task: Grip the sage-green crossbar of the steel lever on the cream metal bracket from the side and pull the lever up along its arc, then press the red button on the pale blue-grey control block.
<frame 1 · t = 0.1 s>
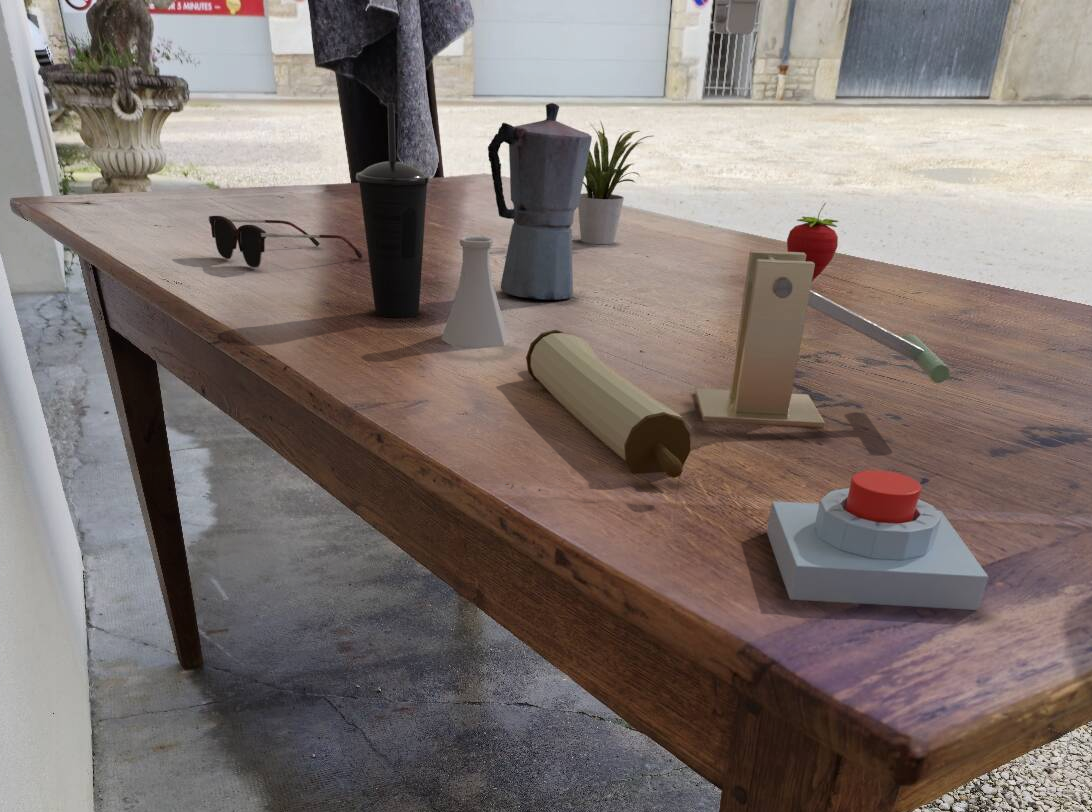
hand: (731, 34, 76), 27 cm above the table, tool pointing down, fingers open, 8 cm apart
strawberry: (803, 288, 138), on the table
drinking cup: (397, 315, 117), on the table
button: (882, 498, 62), point 5 cm above the table, slide at 0.1 cm
bracket: (755, 418, 90), on the table
house plant: (605, 242, 161), on the table
moka pot: (535, 297, 127), on the table
flask: (475, 349, 106), on the table
rolling pin: (598, 431, 86), on the table
control block: (865, 569, 65), on the table
lever: (848, 318, 85), point 9 cm above the table, hinge at -22.0°
sunglasses: (290, 259, 141), on the table
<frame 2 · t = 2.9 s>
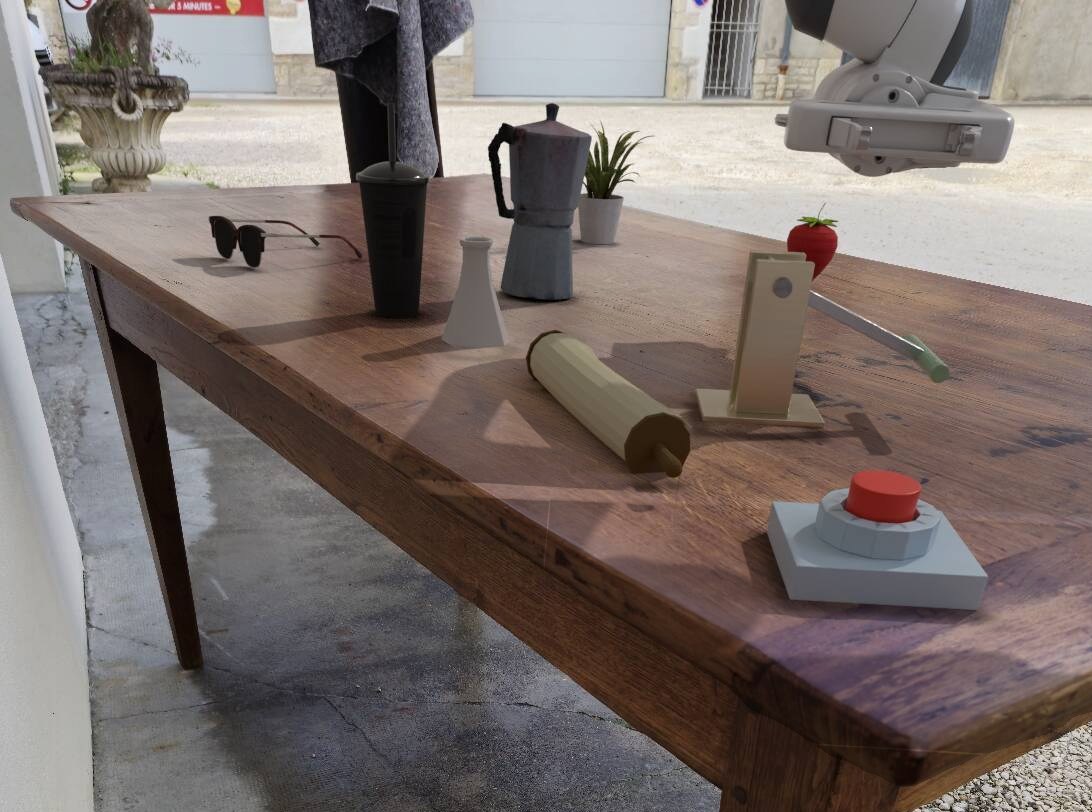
hand: (916, 141, 90), 20 cm above the table, tool horizontal, fingers open, 8 cm apart
nothing on the table moved.
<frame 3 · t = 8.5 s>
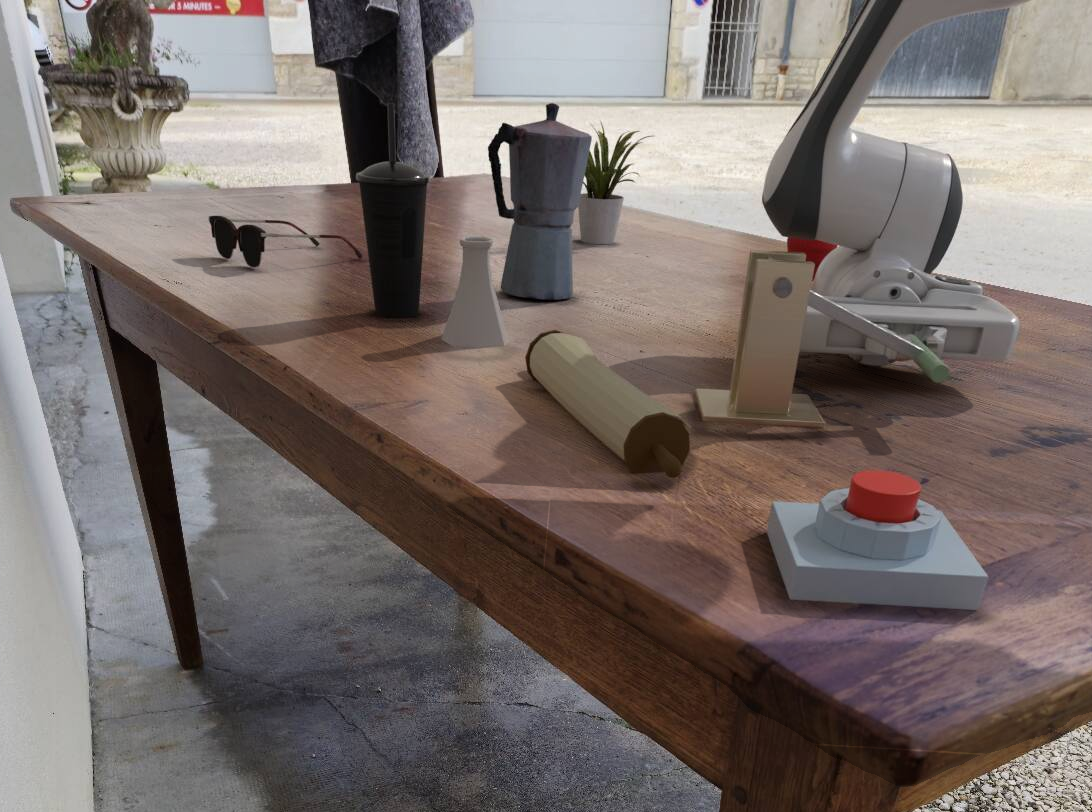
hand: (917, 350, 88), 6 cm above the table, tool horizontal, fingers closed on lever
lever: (848, 318, 85), point 9 cm above the table, hinge at -22.0°, touching gripper
everything else where it was.
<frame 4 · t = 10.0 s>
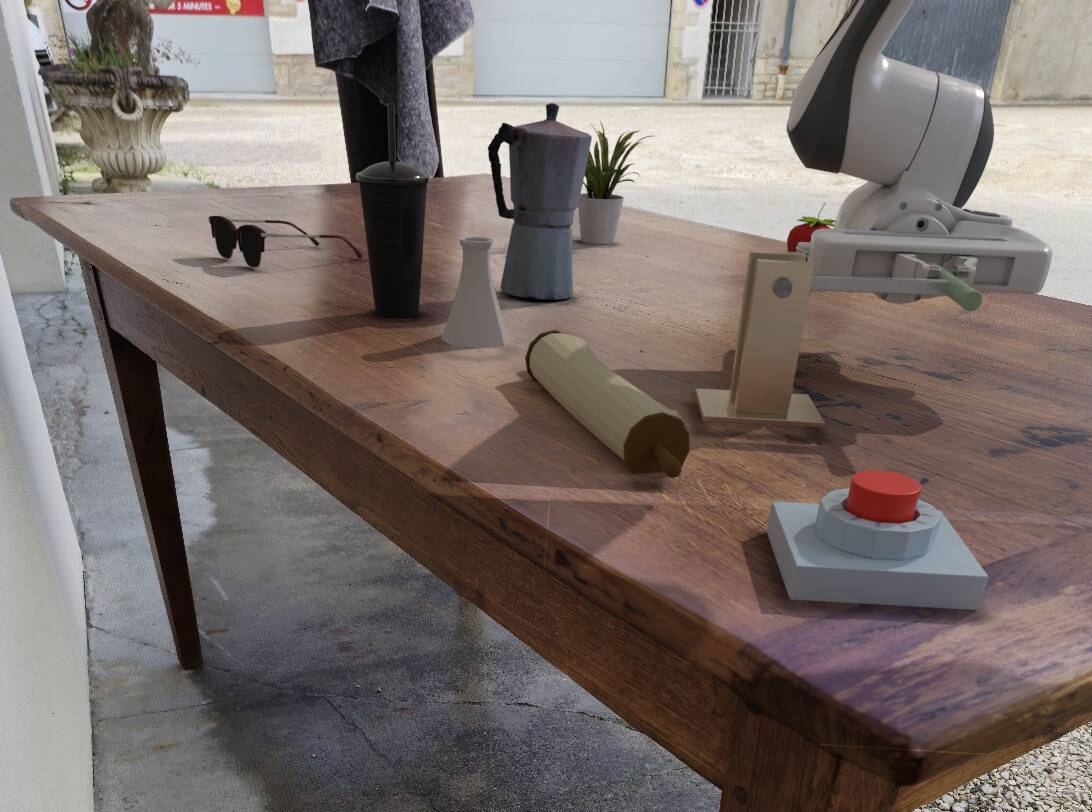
hand: (947, 279, 85), 11 cm above the table, tool horizontal, fingers closed on lever
lever: (861, 284, 83), point 11 cm above the table, hinge at 0.7°, touching gripper
everything else where it was.
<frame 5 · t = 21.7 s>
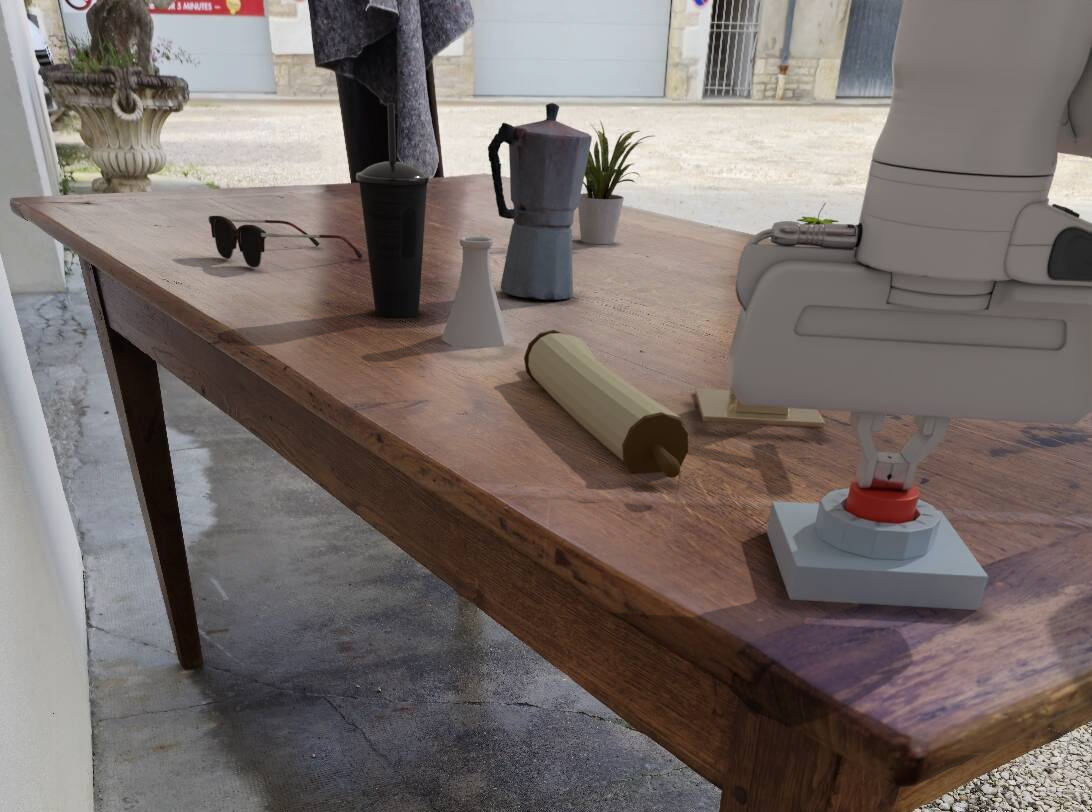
hand: (882, 486, 62), 5 cm above the table, tool pointing down, fingers closed, pressing on button
button: (881, 503, 63), point 4 cm above the table, slide at -0.3 cm, touching gripper
lever: (862, 252, 82), point 13 cm above the table, hinge at 20.9°
everything else where it was.
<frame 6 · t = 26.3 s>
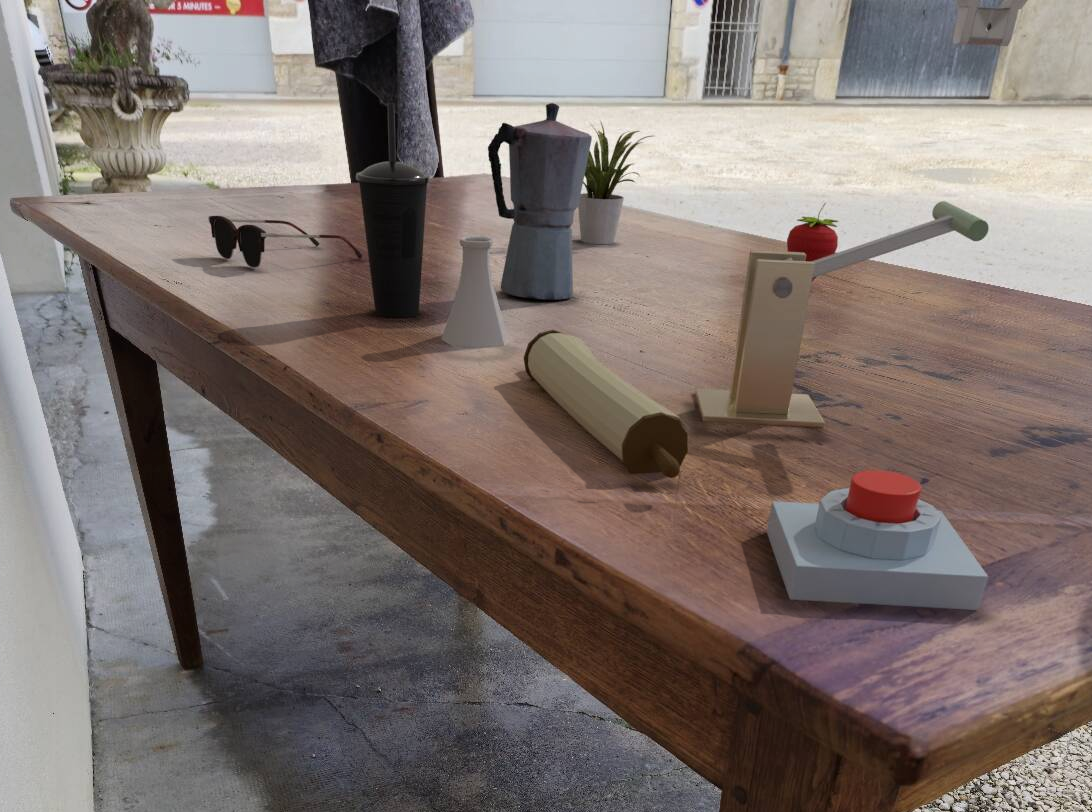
hand: (980, 45, 62), 27 cm above the table, tool pointing down, fingers closed
button: (882, 498, 62), point 5 cm above the table, slide at 0.1 cm
everything else where it was.
at the end: lever at +21° (first picture: -22°); button pushed in 1.1 cm at the most during the clip, back to where it started at the end; button slide at 0.1 cm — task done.
